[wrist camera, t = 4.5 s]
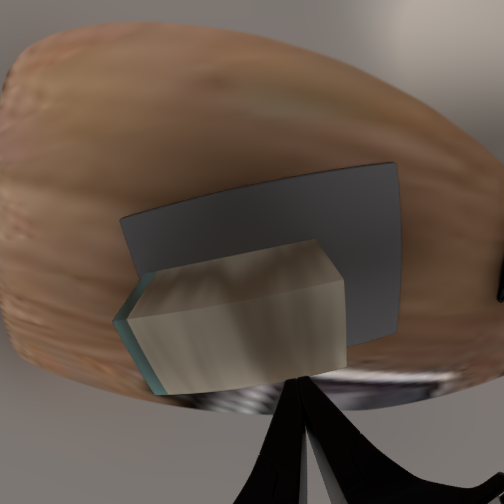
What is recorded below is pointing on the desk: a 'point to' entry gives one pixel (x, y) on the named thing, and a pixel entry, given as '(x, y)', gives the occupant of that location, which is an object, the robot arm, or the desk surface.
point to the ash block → (237, 321)
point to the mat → (292, 234)
